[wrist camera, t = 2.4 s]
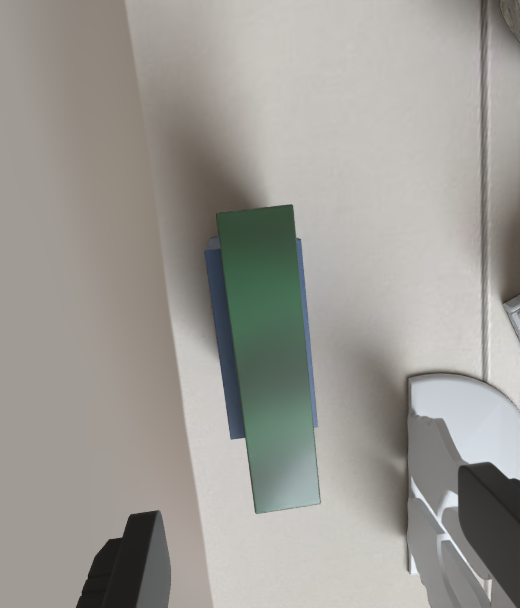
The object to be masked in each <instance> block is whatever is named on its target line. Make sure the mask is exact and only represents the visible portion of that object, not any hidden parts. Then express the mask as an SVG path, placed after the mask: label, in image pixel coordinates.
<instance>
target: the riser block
mask: <svg viewBox="0 0 520 608" xmlns="http://www.w3.org/2000/svg"><path fill="white" fill-rule="evenodd" d="M296 242H297V253H298V264H299V275H300V285H301V296H302V307H303V318H304V329H305V339H306V350H307V361H308V372H309V382H310V393H311V404H312V415H313V426H314V428H315V427H318V423H317V412H316V401H315V390H314V379H313V367H312V356H311V345H310V334H309V323H308V312H307V301H306V290H305V279H304V268H303V257H302V246H301V239H299V238H296ZM205 258H206V265H207V273H208V280H209V287H210V294H211V301H212V308H213V316H214V323H215V330H216V337H217V344H218V351H219V359H220V366H221V373H222V380H223V387H224V394H225V402H226V409H227V416H228V423H229V430H230V437H231V440H232V439H239V438H245V432H244V424H243V416H242V409H241V401H240V393H239V386H238V378H237V371H236V363H235V355H234V348H233V340H232V332H231V325H230V317H229V310H228V302H227V294H226V287H225V279H224V272H223V264H222V256H221V249H220V241H219V237H214V238H210V240H209V243H208V245H207V247H206V249H205Z"/></svg>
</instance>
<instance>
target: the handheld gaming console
mask: <svg viewBox="0 0 520 608" xmlns="http://www.w3.org/2000/svg"><path fill="white" fill-rule="evenodd" d="M503 307H504V309H505V310H506V311H507V314H508V316H509V318H510V320H511V322H512V325H513V327H514V329H515V331H516V333H517V335H518V338H519V340H520V295H518V296H517V297H515V298H513V299H511V300H510V301H508V302H506V303H505V304H503Z"/></svg>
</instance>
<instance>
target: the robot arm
mask: <svg viewBox="0 0 520 608" xmlns="http://www.w3.org/2000/svg"><path fill="white" fill-rule="evenodd" d="M458 517H459V523H460V526H461V529H462V532H463V534H464V536H465V538H466V540H467V541H468V543H469V544H470V545H471V547H472V548H473V550H474V551H475V552H476V554H477V555H478V556H479V558H480V559H481V560H482V562H483V563H484V564H485V566H486V567H487V568H488V570H489V571H490V573H491V574H492V575H493V577H494V578H495V579H496V581H497V582H498V583H499V585H500V586H501V587H502V589H503V590H504V591H505V593H506V594H507V595H508V597H509V598H510V600H511V601H512V602H513V604H514V605H515V606H516V608H520V480H518V479H516V478H512V479H509V478H508V477H506V476H505V475H504V474H503V473H502V472H501V471H500V470H499V469H498V468H497V467H496V466H495V465H494V464H492V463H491V462H481V463H474V464H467V465H461V466H460V467H459V469H458ZM170 586H171V566H170V558H169V552H168V547H167V541H166V536H165V530H164V525H163V520H162V515H161V512H160V511H159V510H157V511H150V512H144V513H137V514H131V515H130V516H129V518H128V521H127V524H126V527H125V531H124V534H123V537H122V538H116V539H109V540H108V542H107V543H106V544H105V545H104V547H103V548H102V549H101V550H100V551H99V553H98V554H97V555H96V556H95V558H94V561H93V563H92V566H91V568H90V571H89V574H88V579H87V580H86V582H85V585H84V587H83V590H82V596H80V598H79V601H78V604H77V606H76V608H168V601H169V594H170Z"/></svg>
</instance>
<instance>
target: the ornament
mask: <svg viewBox="0 0 520 608" xmlns="http://www.w3.org/2000/svg"><path fill="white" fill-rule="evenodd" d="M407 425H408V475H409V500H408V502H407V507H408V531H407V543H408V547H409V574H420V578H421V582H422V584H423V585H424V586H425V587H426V590H427V596H428V601H429V604H430V607H431V608H516V606H515V605H514V604H513V602H512V601H511V600H510V598H509V597H508V595H507V594H506V593H505V591H504V590H503V589H502V587H501V586H500V585H499V583H498V582H497V581H496V579H495V578H494V577H493V575H492V574H491V573H490V571H489V570H488V568H487V567H486V566H485V564H484V563H483V562H482V560H481V559H480V558H479V556H478V555H477V554H476V552H475V551H474V550H473V548H472V547H471V545H470V544H469V543H468V541H467V540H466V538H465V536H464V534H463V532H462V529H461V526H460V523H459V517H458V469H459V467H460V466H461V465H467V464H474V463H481V462H491V463H492V464H494V465H495V466H496V467H497V468H498V469H499V470H500V471H501V472H502V473H503V474H504V475H505V476H506V477H508V478H509V479H512V478H516V479H518V480H520V411H519V410H518V409H517V407H516V406H515V405H514V404H513V403H512V402H511V401H510V400H509V399H508V398H507V397H506V396H505V395H503V394H502V393H501V392H499V391H498V390H497V389H495V388H493V387H492V386H490V385H488V384H486V383H484V382H482V381H479V380H477V379H474V378H470V377H467V376H462V375H456V374H444V373H438V374H425V375H419V376H414V377H410V378H408V418H407ZM466 562H468V563H469V564H470V566H471V567H472V568H473V570H474V571H475V572H476V573H477V575H478V576H479V577H480V578H482V579H484V580H490V579H492V589H491V603H490V601H489V599H488V597H487V595H486V593H485V591H484V590H483V588H482V586H481V585H480V583H479V582H478V580H477V579H476V577H475V576H474V574H473V573H472V571H471V570H470V568H469V567H468V566H467V564H466Z"/></svg>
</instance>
